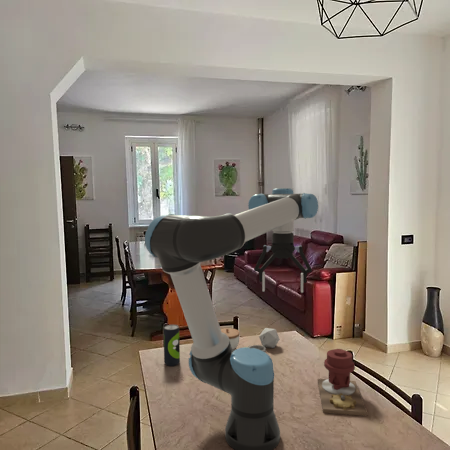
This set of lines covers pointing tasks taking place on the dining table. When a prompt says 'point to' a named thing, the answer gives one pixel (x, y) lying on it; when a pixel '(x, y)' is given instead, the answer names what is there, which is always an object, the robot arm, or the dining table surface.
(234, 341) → the lidded jar
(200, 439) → the dining table surface
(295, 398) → the dining table surface
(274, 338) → the die
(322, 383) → the gear board
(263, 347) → the mug
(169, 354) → the beverage can
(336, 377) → the mechanical component
